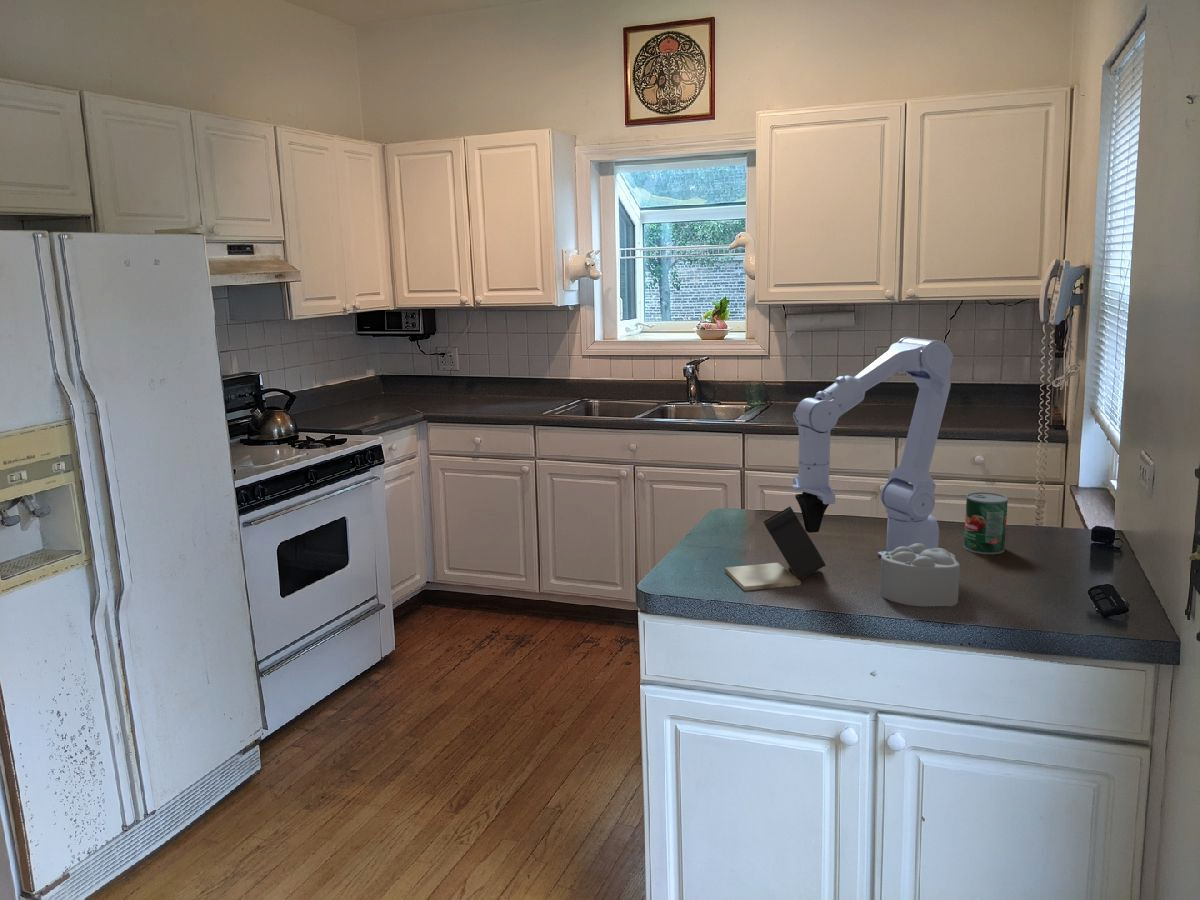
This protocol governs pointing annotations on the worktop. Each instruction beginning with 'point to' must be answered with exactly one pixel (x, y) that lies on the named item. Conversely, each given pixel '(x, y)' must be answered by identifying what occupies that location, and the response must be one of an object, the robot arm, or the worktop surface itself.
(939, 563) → the lumpy-topped squat cylinder
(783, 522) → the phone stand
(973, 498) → the canned tomato
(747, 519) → the worktop surface
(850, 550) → the worktop surface
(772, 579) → the birch board
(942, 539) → the worktop surface
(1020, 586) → the worktop surface
